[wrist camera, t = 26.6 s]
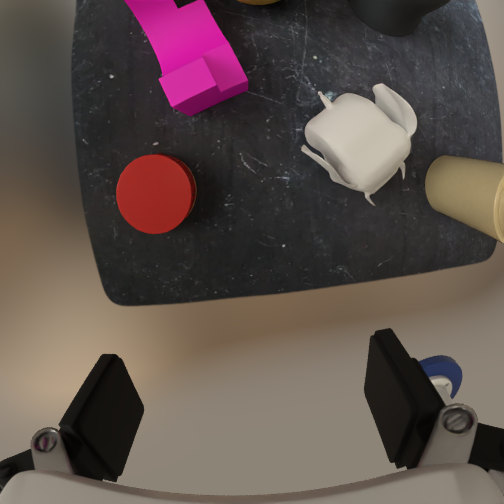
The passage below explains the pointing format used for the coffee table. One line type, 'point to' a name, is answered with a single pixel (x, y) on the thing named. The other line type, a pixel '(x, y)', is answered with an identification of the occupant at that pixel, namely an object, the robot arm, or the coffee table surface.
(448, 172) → the jar
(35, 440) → the robot arm
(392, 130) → the elephant figurine
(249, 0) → the yellow bowl
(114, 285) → the coffee table surface
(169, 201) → the lid
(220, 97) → the toy block
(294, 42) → the coffee table surface
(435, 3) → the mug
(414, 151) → the coffee table surface
